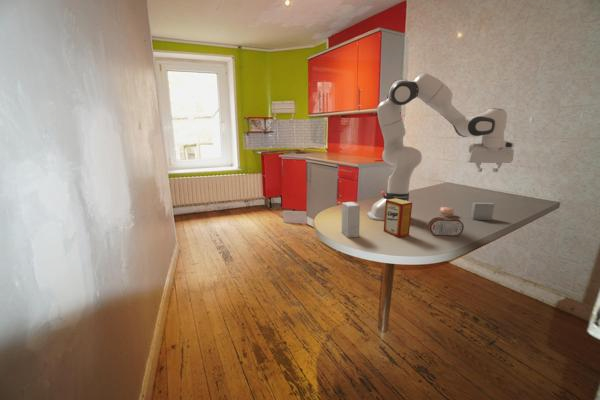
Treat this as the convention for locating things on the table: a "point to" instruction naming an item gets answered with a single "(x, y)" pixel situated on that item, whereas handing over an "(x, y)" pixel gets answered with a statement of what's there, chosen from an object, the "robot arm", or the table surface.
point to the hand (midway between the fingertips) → (487, 171)
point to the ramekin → (446, 211)
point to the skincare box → (350, 219)
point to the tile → (482, 211)
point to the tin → (445, 226)
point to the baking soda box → (397, 217)
